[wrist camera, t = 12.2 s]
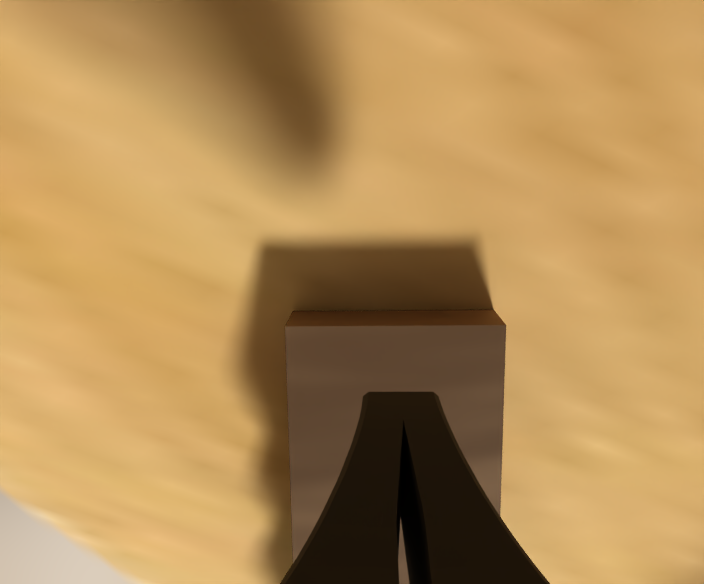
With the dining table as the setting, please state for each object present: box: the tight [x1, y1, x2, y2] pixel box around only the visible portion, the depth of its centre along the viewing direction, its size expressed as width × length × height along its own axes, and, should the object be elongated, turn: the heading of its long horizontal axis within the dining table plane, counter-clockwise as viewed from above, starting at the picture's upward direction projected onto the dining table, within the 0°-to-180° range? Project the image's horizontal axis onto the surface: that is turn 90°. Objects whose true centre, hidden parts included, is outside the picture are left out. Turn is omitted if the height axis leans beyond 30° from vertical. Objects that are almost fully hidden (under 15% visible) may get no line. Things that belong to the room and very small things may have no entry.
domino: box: [285, 310, 506, 584], centre depth 17 cm, size 2×5×7 cm
